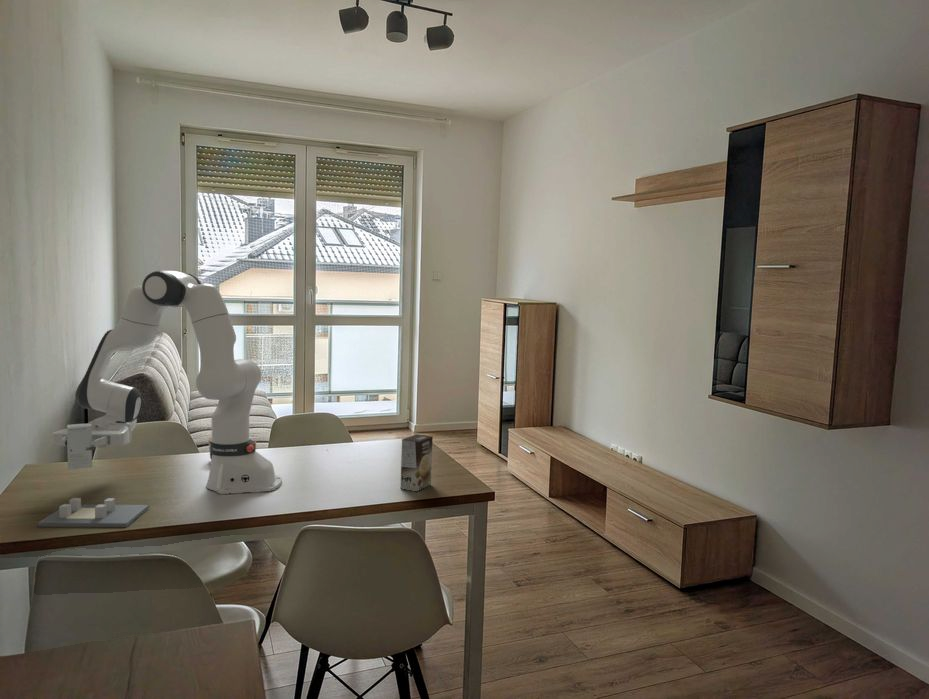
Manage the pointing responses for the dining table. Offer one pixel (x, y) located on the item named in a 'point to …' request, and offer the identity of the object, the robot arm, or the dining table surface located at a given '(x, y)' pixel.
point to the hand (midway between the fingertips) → (77, 443)
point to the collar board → (93, 514)
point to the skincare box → (79, 446)
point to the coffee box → (416, 462)
